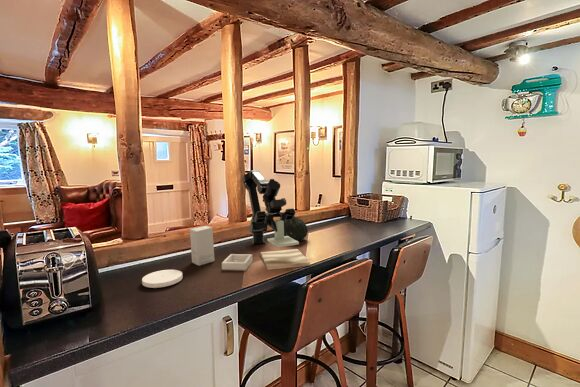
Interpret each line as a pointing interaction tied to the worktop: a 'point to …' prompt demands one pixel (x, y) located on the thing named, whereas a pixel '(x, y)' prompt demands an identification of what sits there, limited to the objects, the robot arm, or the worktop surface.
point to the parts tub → (237, 262)
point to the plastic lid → (162, 278)
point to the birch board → (284, 259)
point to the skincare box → (202, 245)
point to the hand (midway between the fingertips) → (280, 231)
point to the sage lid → (281, 236)
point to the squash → (295, 229)
